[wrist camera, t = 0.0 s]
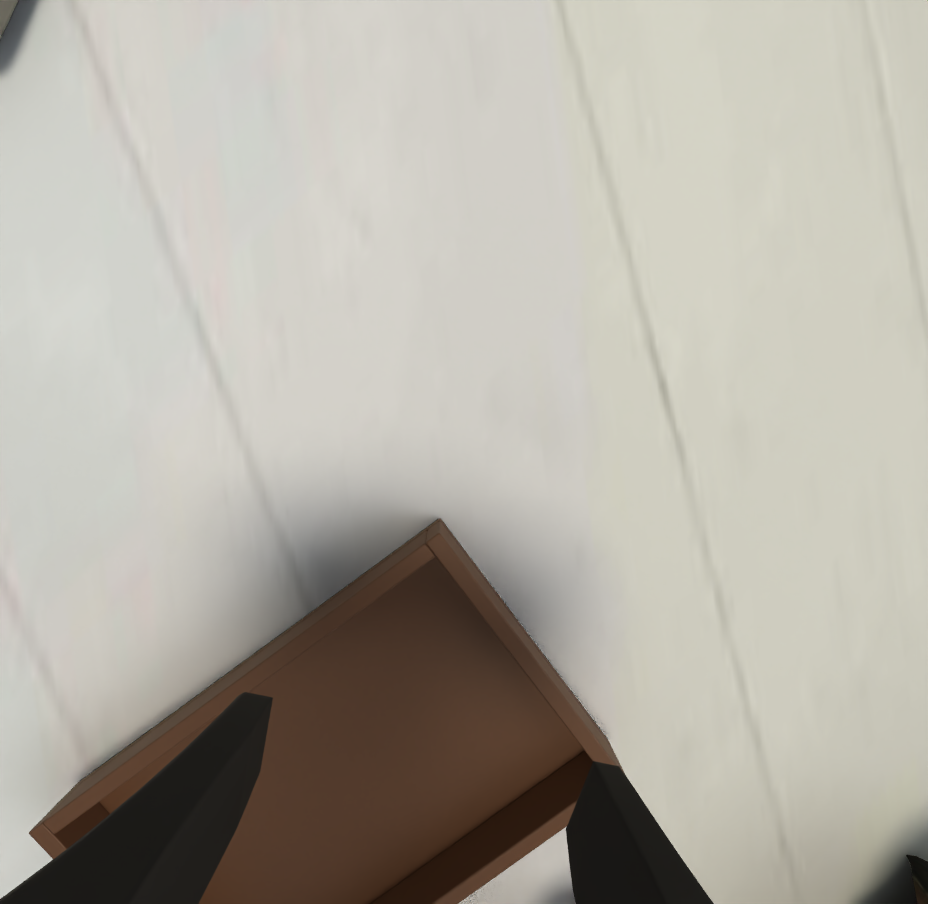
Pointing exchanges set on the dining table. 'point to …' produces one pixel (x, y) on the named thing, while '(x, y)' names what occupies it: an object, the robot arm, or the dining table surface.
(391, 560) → the walnut tray
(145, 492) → the dining table surface
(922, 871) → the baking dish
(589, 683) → the dining table surface
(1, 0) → the emblem
